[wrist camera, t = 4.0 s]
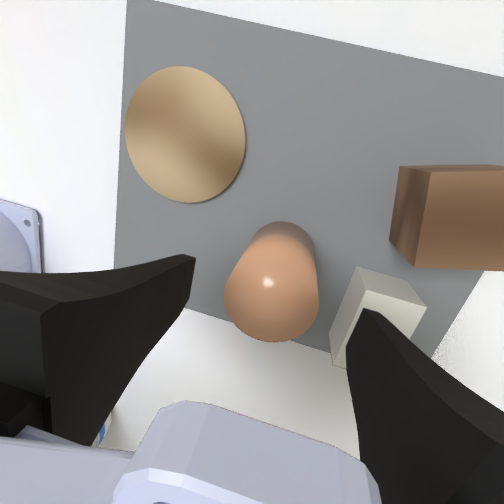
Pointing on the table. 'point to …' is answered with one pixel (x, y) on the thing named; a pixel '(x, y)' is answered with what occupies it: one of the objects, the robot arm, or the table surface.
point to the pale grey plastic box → (374, 308)
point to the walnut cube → (450, 216)
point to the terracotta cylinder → (274, 284)
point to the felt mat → (306, 156)
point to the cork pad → (185, 134)
